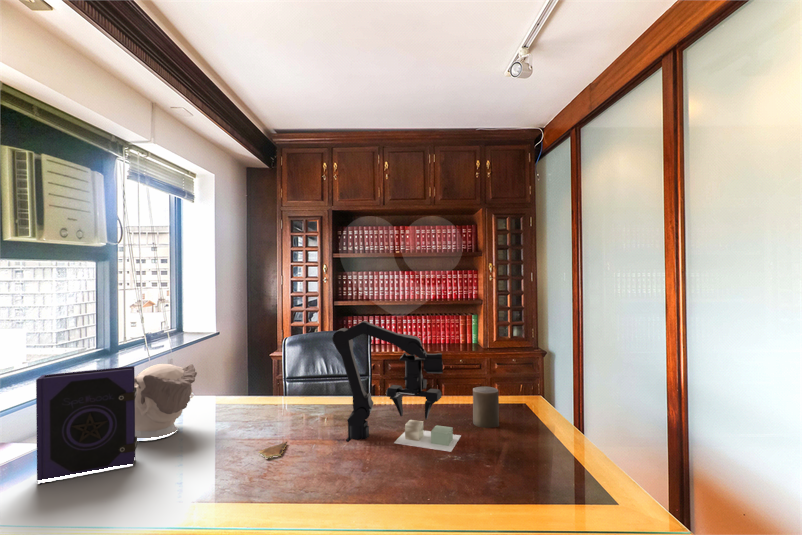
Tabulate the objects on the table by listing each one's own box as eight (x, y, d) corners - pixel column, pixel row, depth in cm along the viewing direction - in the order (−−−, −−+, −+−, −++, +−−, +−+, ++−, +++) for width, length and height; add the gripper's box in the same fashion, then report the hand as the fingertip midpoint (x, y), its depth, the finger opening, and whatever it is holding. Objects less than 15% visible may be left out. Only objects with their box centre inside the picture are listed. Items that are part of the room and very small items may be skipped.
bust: (93, 420, 154) (119, 350, 149) (144, 404, 172) (168, 341, 167) (137, 465, 145) (166, 391, 140) (186, 443, 163) (213, 377, 158)
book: (36, 486, 118) (35, 379, 119) (43, 476, 124) (42, 374, 124) (135, 467, 129) (134, 369, 129) (137, 458, 135) (136, 365, 135)
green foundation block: (431, 443, 142) (430, 431, 142) (436, 436, 147) (436, 425, 147) (448, 445, 140) (448, 433, 140) (452, 439, 145) (452, 427, 145)
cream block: (405, 438, 146) (405, 424, 146) (410, 433, 150) (410, 419, 150) (418, 440, 144) (418, 426, 144) (423, 435, 148) (423, 421, 148)
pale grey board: (393, 445, 142) (393, 442, 142) (408, 430, 155) (408, 428, 155) (451, 454, 135) (451, 451, 135) (461, 438, 148) (461, 435, 148)
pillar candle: (497, 431, 154) (497, 390, 154) (470, 428, 157) (470, 388, 157) (500, 422, 163) (500, 384, 163) (475, 420, 166) (474, 382, 166)
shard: (287, 445, 145) (287, 440, 145) (299, 452, 140) (299, 446, 140) (257, 455, 137) (257, 450, 137) (268, 463, 132) (268, 457, 132)
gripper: (445, 369, 151) (445, 413, 151) (397, 365, 158) (397, 407, 158) (436, 377, 141) (436, 424, 141) (385, 372, 148) (385, 417, 148)
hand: (413, 417), depth 147 cm, fingers open, 9 cm apart
